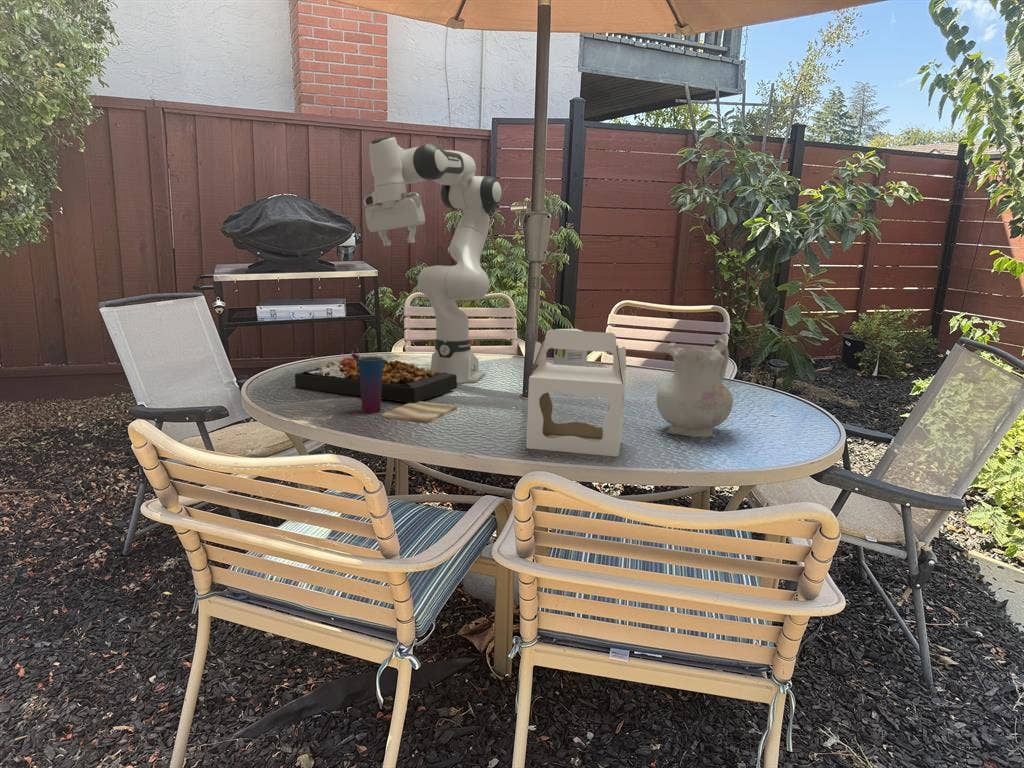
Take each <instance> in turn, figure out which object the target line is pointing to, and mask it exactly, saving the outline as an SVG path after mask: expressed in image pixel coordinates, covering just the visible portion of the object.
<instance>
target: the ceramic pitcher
mask: <svg viewBox="0 0 1024 768" xmlns="http://www.w3.org/2000/svg"><path fill="white" fill-rule="evenodd" d="M676 343H677V342H670V343H667V346H668V352H669V354H670V356H671V357H672V358H673V359H672V361H673V364H674V373H673V375H672V376H671V378H669V379H668V380H667V381H665V382H664V383H661V384H660V385H659V386H658V388H657V391H656V407H657V409H658V412H659V413H660V415H661V417H662V419H664V421H666V422H667V423H669V424H670V425H671V426H670V427H669V428H668V429H667V430H666V433H667V434H671V435H679V436H687V437H690V438H691V437H692V438H695V439H696V438H698V439H702V438H713V437H714V431H713V430H712V429H713V428H715V427H718V426H720V425H721V424H723V423H724V422H725V421H726V420H727V419H728V418H729V416H730V414H731V412H732V409H733V405H734V398H733V394H732V392H731V391H730V389H728V388H727V387H726V386H725V385H724V383H723V380H724V378H725V376H726V371H727V367H728V363H729V356H730V352H729V348H728V344H726V340H725V339H724V338H722V337H719V338H715V339H714V345H713V348H711V349H710V350H702V349H700V348H698V347H694V348H690V349H686V350H685V349H684V348H682V347H678V348H677V344H676Z"/></svg>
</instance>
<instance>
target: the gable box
mask: <svg viewBox="0 0 1024 768" xmlns="http://www.w3.org/2000/svg"><path fill="white" fill-rule="evenodd" d="M544 338H545V339H544V340H543V341H542V343H541V342H540V341H535V345H534V353H533V361H532V364H533V366H532V368H531V371H530V374H529V376H528V391H527V392H528V395H527V397H528V398H527V417H526V418H527V421H526V444H525V445H526V446H525V448H526V449H528V450H529V449H530V450H538V451H540V450H541V451H549V452H560V453H561V452H562V453H571V454H582V455H594V456H605V457H615V458H618V457H619V454H620V450H621V444H622V435H623V423H624V421H623V419H624V405H625V394H626V393H625V389H626V377H627V374H626V370H627V349H626V346H622V347H620V348H619V345H618V344H617V337H616V334H614V333H613V332H603V331H585V330H582V331H571V330H555V329H548V330H547V331H546V333H545V337H544ZM549 349H551V350H554V349H568V350H584V351H588V352H600V353H601V352H602V353H606V354H608V353H611V355H612V357H613V358H612V359H613V360H612V368H610V367H597V366H596V367H594V366H587V367H583V366H569V365H554V363H553V364H551V363H547V353H548V351H549ZM550 393H561V394H565V395H570V396H574V397H579V398H580V397H581V398H582V397H583V398H584V397H585V398H588V397H597V398H598V397H600V398H602V399H603V398H604V399H606V400H607V401H608V403H609V406H608V408H607V411H606V412H607V413H606V415H605V417H604V419H603V422H602V427H599V426H595V425H592V424H589V423H586V422H580V421H579V422H578V421H574V422H565V423H559V422H558V423H557V422H554V421H553V419H552V413H553V409H554V408H553V407H554V406H553V402H552V399H551V396H550Z"/></svg>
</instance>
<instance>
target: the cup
mask: <svg viewBox="0 0 1024 768" xmlns="http://www.w3.org/2000/svg"><path fill="white" fill-rule="evenodd" d="M383 360H384V358H383V357H380V356H371V355H370V356H364V357H362V356H361V357H360V358H358V361H359V374H360V388H361V396H360V397H361V411H363V412H362V413H364V412H365V414H377V413H380V412H381V409H382V408H381V406H382V405H381V404H382V399H381V391H382V374H383Z"/></svg>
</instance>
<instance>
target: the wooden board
mask: <svg viewBox="0 0 1024 768" xmlns="http://www.w3.org/2000/svg"><path fill="white" fill-rule="evenodd" d="M456 410H458V405H451V404H443V403H438V402H437V403H436V402H428V401H419V402H416V403H410V402H407V403H405V404H403V405H400V406H398V407H396V408H393V409H391V410H388V411H386V412H383V413H382V414H381V417H382V418H387V419H388V418H390V419H396V420H404V421H411V422H417V423H424V424H429V423H431V422H434V421H435V420H437V419H439V418H441V417H443V416H446V415H447V414H450V413H451V412H454V411H456Z"/></svg>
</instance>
